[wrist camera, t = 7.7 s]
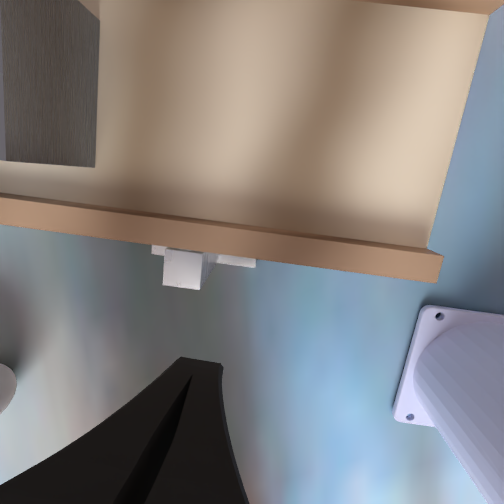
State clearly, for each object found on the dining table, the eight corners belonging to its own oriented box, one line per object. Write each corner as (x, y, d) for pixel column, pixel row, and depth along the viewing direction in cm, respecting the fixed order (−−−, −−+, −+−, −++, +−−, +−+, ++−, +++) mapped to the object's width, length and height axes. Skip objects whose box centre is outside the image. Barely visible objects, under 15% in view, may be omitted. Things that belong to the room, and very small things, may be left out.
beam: (469, 2, 11) (532, -55, 8) (403, 265, 13) (435, 286, 11) (-82, -55, 12) (-186, -124, 9) (-51, 204, 14) (-126, 209, 11)
